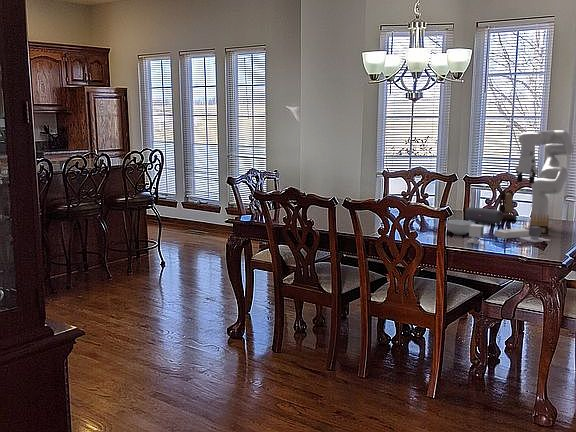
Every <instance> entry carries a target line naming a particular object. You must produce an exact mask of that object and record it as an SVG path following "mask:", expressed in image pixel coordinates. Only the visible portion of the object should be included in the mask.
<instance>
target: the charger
mask: <svg viewBox="0 0 576 432" xmlns="http://www.w3.org/2000/svg"><path fill="white" fill-rule="evenodd" d="M528 228H529V236H530V237H531V239H539V237H542V236H541V235H542V234H541V227H538V226H532V227H528Z"/></svg>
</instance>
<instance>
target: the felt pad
mask: <svg viewBox="0 0 576 432" xmlns="http://www.w3.org/2000/svg"><path fill="white" fill-rule="evenodd" d="M518 239H519V240H522V241H526V242H531V243H544V242H543V241H547V242H551V241H552V240H551V239H547V238H543V237H541V236H539V239H531V236H530V237H518Z"/></svg>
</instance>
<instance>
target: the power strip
mask: <svg viewBox="0 0 576 432" xmlns="http://www.w3.org/2000/svg"><path fill="white" fill-rule="evenodd" d="M494 237H496V238H501V239H515V238H517V239H518V238H520V237H531V236H529V227H521V228H507V229H494Z"/></svg>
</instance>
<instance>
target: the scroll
mask: <svg viewBox="0 0 576 432" xmlns="http://www.w3.org/2000/svg"><path fill="white" fill-rule="evenodd" d="M498 203H499V206H498V211H501V212H502V215H503V219H502V220H503V221H504V222H506V220H514V221H517V219H518V217H517V215H515V214H513V210H514V208H513V204H514V192H513V191H512V190H509V191H507V192H505V191H504V190H502V191H500V192H499V201H498ZM504 204H505V205H504Z"/></svg>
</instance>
